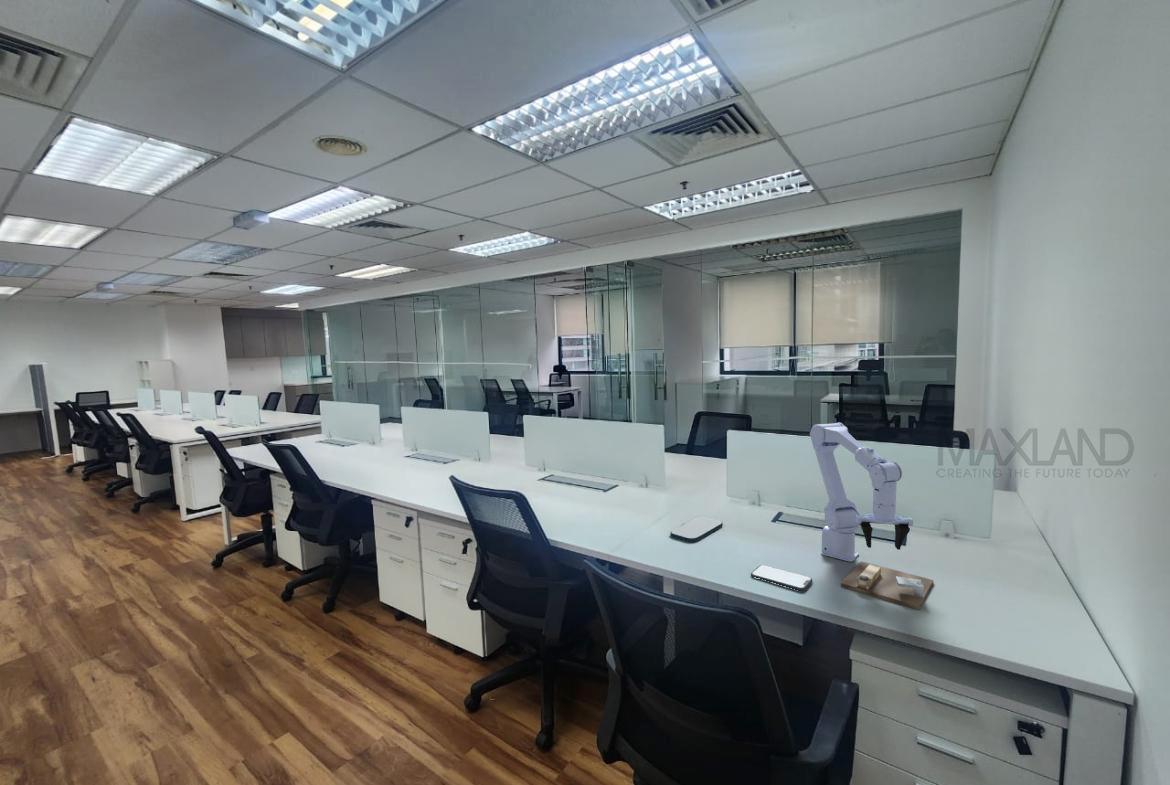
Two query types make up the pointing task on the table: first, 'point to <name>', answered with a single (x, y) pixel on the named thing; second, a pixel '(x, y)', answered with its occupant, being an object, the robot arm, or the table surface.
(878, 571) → the pivot link
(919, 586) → the keeper
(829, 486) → the robot arm
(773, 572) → the phone case
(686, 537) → the external hard drive
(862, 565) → the walnut board
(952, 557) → the table surface
